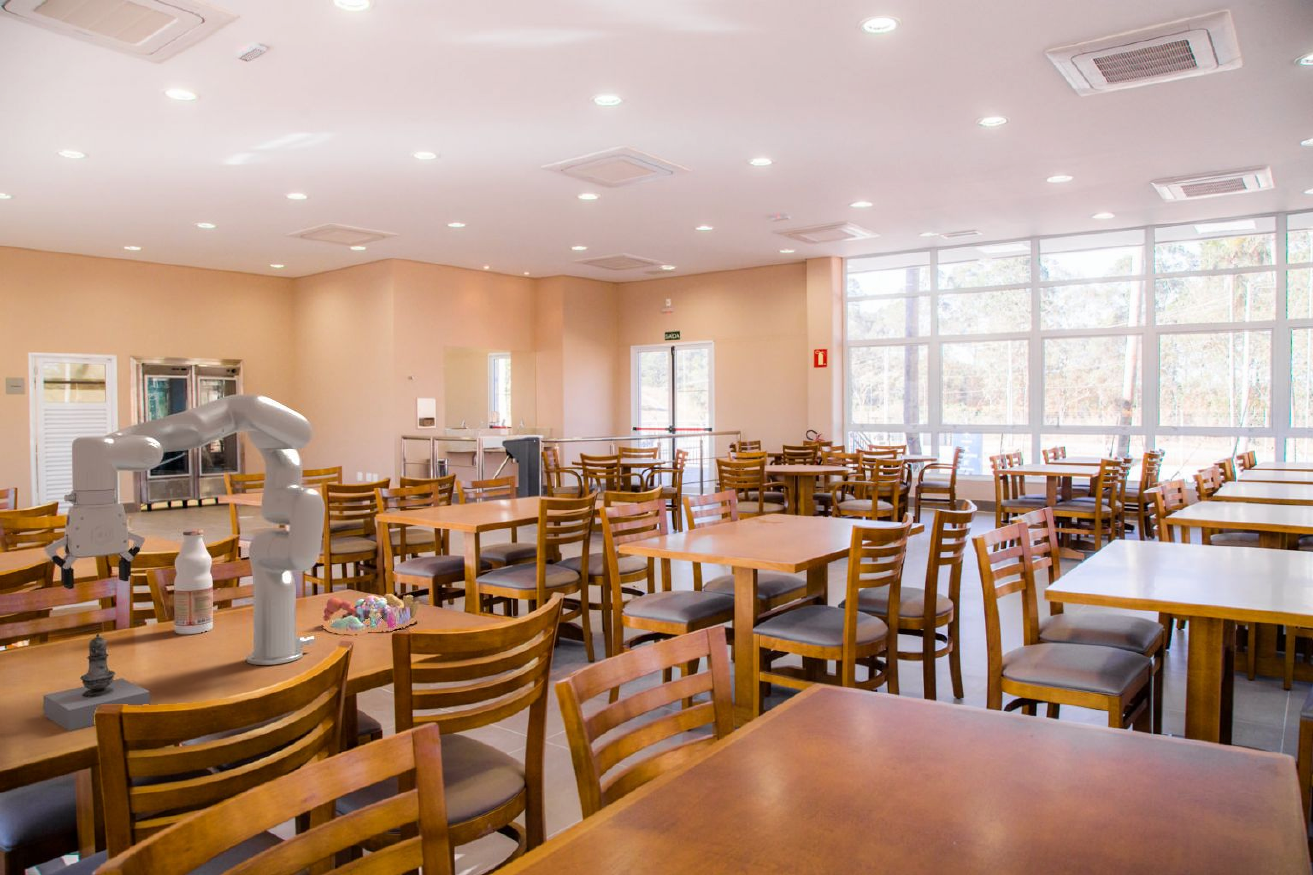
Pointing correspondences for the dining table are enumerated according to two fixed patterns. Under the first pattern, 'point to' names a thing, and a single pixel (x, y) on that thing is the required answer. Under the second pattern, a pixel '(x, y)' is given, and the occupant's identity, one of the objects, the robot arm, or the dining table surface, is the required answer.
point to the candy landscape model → (371, 612)
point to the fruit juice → (193, 586)
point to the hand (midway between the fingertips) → (97, 584)
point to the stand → (89, 703)
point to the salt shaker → (97, 670)
